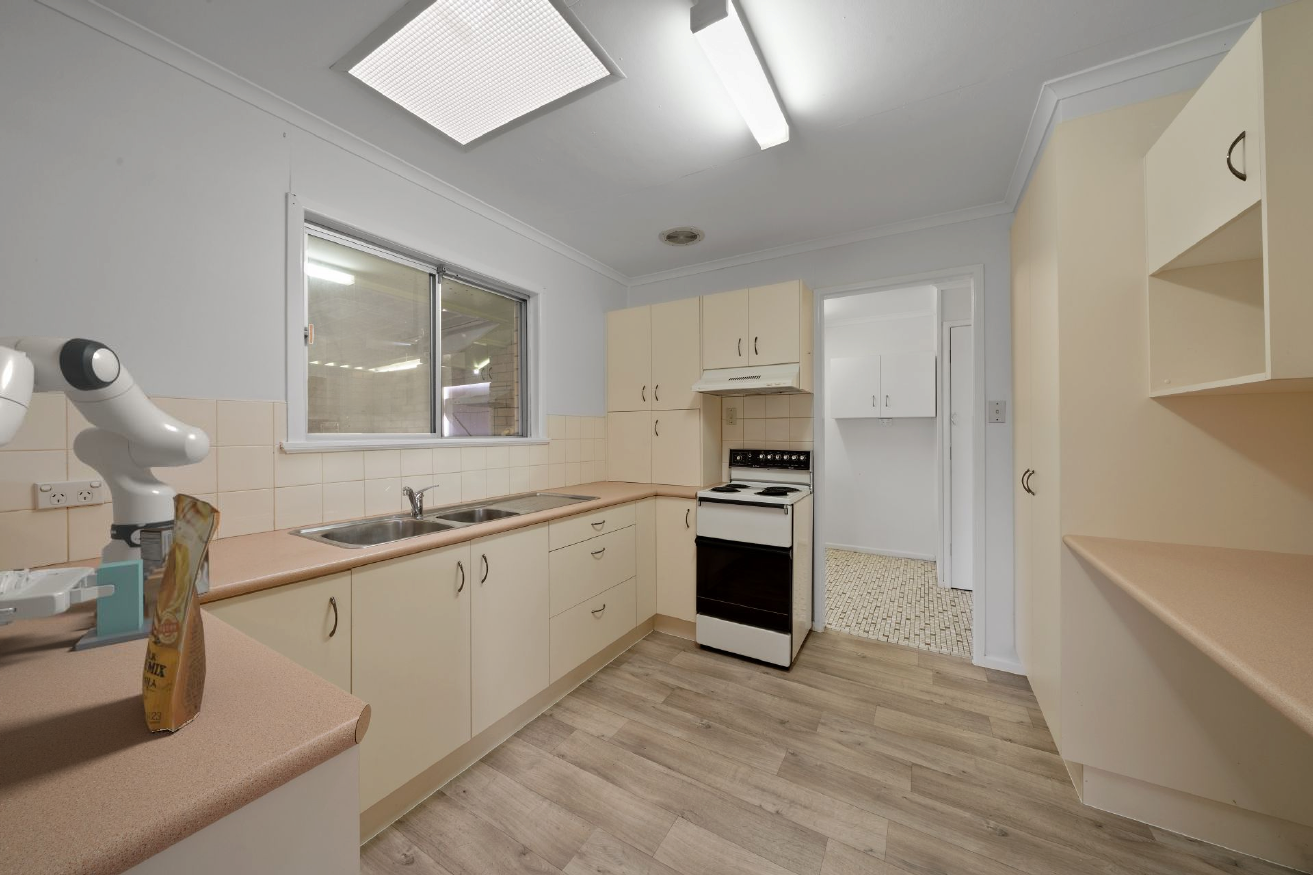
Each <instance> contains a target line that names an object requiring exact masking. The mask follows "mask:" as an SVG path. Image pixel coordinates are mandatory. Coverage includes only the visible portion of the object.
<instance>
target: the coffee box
mask: <svg viewBox="0 0 1313 875" xmlns="http://www.w3.org/2000/svg"><path fill="white" fill-rule="evenodd" d="M173 527H174V525H168V526H161V527H155V528H149V529H142V530H140V550H141V559H143V575H144V574H145V573H146V571H147V570H148V569H149V568H150V567H151V566H153V565H155V569H159V568H166V563H167V559H168V555H169V550H170V547H171V543H172V536H173ZM209 546H210V545H209ZM209 546H208V549H207V551H206V554H205V557H204V559H203V562H202V564H201V567H200V569H199V572H198V574H197V578H196V582H195V584H196V588H197V592H198V595H201V594H205V593H208V592H210V590H211V589H210V559H209V557H210V550H209ZM143 594H145V580H144V581H143Z"/></svg>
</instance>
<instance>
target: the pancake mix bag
mask: <svg viewBox="0 0 1313 875" xmlns="http://www.w3.org/2000/svg"><path fill="white" fill-rule="evenodd" d="M173 501H174V510H175V512H174V527H173V536H172V543H171V547H170V550H169V555H168V559H167V563H166V568H165V572H164V575H163V578H162V582H161V585H160V589H159V593H158V597H157V602H156V606H155V611H154V616H153V621H152V626H151V630H150V635H149V637H148V642H147V647H146V652H145V658H144V663H143V670H142V671H143V672H142V683H141V684H142V685H141V687H142V688H141V689H142V690H141V691H142V700H143V705H144V706H143V707H144V711H145V721H146V724H147V727H148V729H150V730H149V732H150V733H151V732H152V731H157V730H160V729H167V728H168V729H170V730H171V731H172V732H174V731H175V730H176V729H178V728H179V727H181V726H182V725H183V724H184V723H187V721H189V720H191V719H193V718H194V716H195V715H196V714H197V713H198V712H200V711H201V705H202V700H203V696H204V695H203V694H204V690H205V681H206V674H207V658H206V644H205V641H206V640H205V631H204V622H203V617H202V613H201V605H200V598H199V597H200V596H199V594H198V592H197V588H196V584H195V582H196V578H197V574H198V572H199V569H200V567H201V564H202V562H203V559H204V557H205V554H206V551H207V549H208V546H210V545H211V544H210V543H211V541H212V539H213V537H214V535H215V533H216V531H217V529H218V527H219V525H220V518H221V517H220V516H221V511H219V510H218V508H215V506H214V505H212V504H211V503H210V502H207V501H206V500H205V501H204V500H200V499H199V498H197V497H195V496H193V495H188V494H184V493H176V496H174V497H173ZM200 713H201V712H200ZM172 732H171V733H172ZM174 733H175V732H174Z"/></svg>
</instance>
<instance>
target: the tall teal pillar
mask: <svg viewBox="0 0 1313 875" xmlns="http://www.w3.org/2000/svg"><path fill="white" fill-rule="evenodd" d="M96 573H97V586H100V585H104V584H112V583H113V584H115V592H114V593H113V595H111V596H104V597H98V598H96V611H97V637H100V636H105V635H111V634H117V633H122V632H128V631H133V630H139V629H140V627H141V626H142V624H143V559H140V560H131V561H123V562H114V563H106V564H102V565H101V564H100V565H99V566H97V568H96Z"/></svg>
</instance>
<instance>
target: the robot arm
mask: <svg viewBox="0 0 1313 875" xmlns="http://www.w3.org/2000/svg"><path fill="white" fill-rule="evenodd" d="M49 392H63V393H64V395H65V396H66V397H67V398H68V399H69V401H70V402H71V403H72V404H73V406H74V407H75V408H76V409H77V411H79V413H80V414H81V416H82V417H83V418H84V420H86V421H87V422H89V424H91V425H93V426H92V427H86V428H84V429H82V430H81V431H80V432H79V433H78V434H77V435H76V437H75V438H74V441H73V444H72V448H73V450H72V451H73V452H74V455H75V457H76V458H77V459H78V460H79V461H80V462H81V463H83V464H85V465H87V466H88V467H90V468H91V469H93V470H95V471H96V472H97V473H98V474H99V476H101V477H102V478H103V480H104V481H105V483H106V485H107V487H108V489H109V491H110V494H111V501H112V514H113V516H112V517H113V523H112V524H111V525H110V530H109V532H110V539H111V541H110V542H109V543H108V544H107V545H105V546H104V547H102V549H101V555H100V556H101V557H100V558H101V559H100V566H101V565H102V564H106V563H114V562H123V561H131V560H140V559H141V550H140V530H142V529H149V528H155V527H161V526H168V525H174V512H175V510H174V501H173V497H174V496H176V495H177V492H176V489H175V488H174V487H173V485H171V484H169V483H168V482H167V483H166V482H164V481H162V480H159V479H158V478H157V477H156V476H155V475H154V474H153V472H152V470H151V468H159V467H160V468H169V467H171V468H173V467H176V468H177V467H183V466H189V465H193V464H199V463H200V462H203V460H205V459H206V457H207V456H208V455H209V454H210V453H209V452H210V451H211V450H210V449H211V439H210V437H209V436H208V434H207V433H206V432H205V431H204V430H203V429H202V428H200V427H198V426H197V427H196V426H193V425H190V424H189V423H188V424H187V423H185V422H182V421H180V420H179V419H176V418H174V417H173V416H171V415H169V414H168V413H166V412H165V411H163V410H162V409H160V408H159V407H157V405H155V404H154V403H153V402H152V401H151V400H150V399H149V398H148V397H147V395H146V394H145V393H144V392H143V391H142V389H141V387H140V386H139V385H138V383H137V382H136V381H135V378H133V376H132V375H131V374H130V372H129V371H128V370H127V368H126V367H125V365H123V364H122V363H121V361H120V360H119V358H118V355H117V354H116V353H115V351H114V350H112V349H111V348H110V347H109V346H107V345H106V344H104V343H102V342H100V341H97V340H93V339H87V338H81V337H80V338H79V337H76V338H69V337H60V336H47V335H30V336H26V335H25V336H24V335H23V336H21V335H20V336H13V335H12V336H0V448H1V447H4V446H6V445H8V444H9V443H11V441H12V440H13V439H14V438H15V437H16V435H17V434H18V432H19V431H20V429H21V428H22V426H23V424H24V422H25V420H26V417H27V414H28V411H29V407H30V405H31V401H32V397H33V393H49ZM95 570H96V568H95V567H91V566H76V567H74V566H73V567H61V568H59V567H58V568H47V569H45V568H44V569H37V570H31V571H30V568H28V567H27V568H24V567H23V568H16V569H15V568H14V569H10V570H4V571H3V570H2V571H0V627H5V626H8V625H9V626H10V625H11V624H12V623H13V622H15V621H21V620H23V621H24V620H31V619H38V618H46V617H51V616H56V615H59V614H62V613H65V612H66V611H67V610H68V609H69V608H70V607H71V606H72V605H73V604H78V603H83V602H87V601H91V600H95V599H97V598H98V597H104V596H111V595H113V593H114V592H115V584H113V583H112V584H104V585H100V586H97V572H96V571H95Z"/></svg>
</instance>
